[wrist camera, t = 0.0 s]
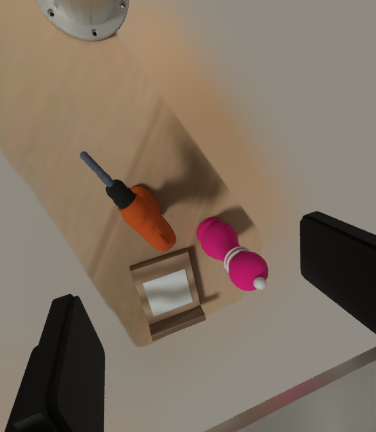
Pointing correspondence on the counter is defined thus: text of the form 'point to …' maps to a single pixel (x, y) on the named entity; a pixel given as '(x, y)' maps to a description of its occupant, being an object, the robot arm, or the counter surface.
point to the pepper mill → (232, 255)
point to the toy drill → (137, 209)
